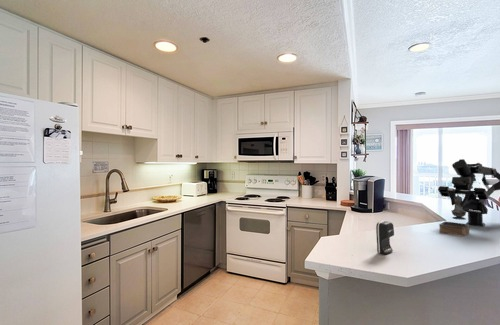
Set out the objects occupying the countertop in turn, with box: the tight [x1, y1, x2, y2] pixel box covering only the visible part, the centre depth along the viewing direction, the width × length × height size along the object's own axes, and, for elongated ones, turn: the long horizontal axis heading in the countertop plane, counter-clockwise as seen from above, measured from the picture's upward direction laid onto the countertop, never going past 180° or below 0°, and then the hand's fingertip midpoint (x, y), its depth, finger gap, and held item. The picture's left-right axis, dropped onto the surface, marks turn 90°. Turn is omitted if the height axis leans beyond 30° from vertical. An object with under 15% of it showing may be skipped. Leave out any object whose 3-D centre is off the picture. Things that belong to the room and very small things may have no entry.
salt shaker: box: [450, 194, 467, 221], centre depth 120 cm, size 6×6×12 cm
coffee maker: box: [375, 220, 395, 255], centre depth 91 cm, size 7×4×11 cm, turn 126°
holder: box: [439, 221, 470, 237], centre depth 115 cm, size 9×9×4 cm
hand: (457, 205), depth 120 cm, fingers closed on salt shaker, 4 cm apart
